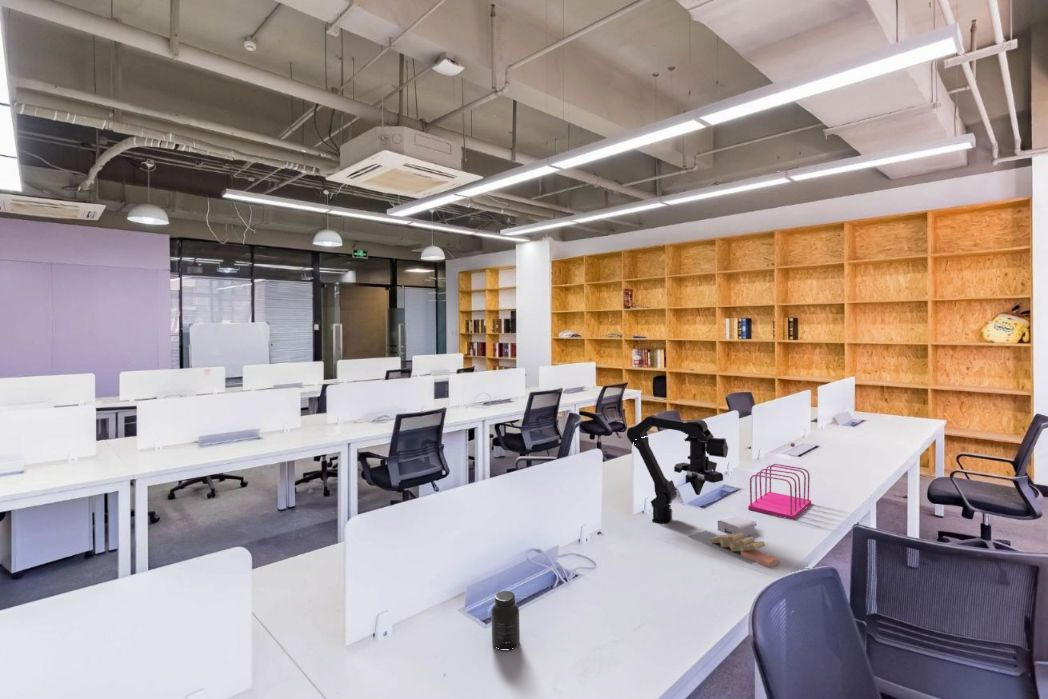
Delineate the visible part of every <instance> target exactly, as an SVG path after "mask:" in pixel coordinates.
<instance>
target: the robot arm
mask: <svg viewBox="0 0 1048 699" xmlns="http://www.w3.org/2000/svg"><path fill="white" fill-rule="evenodd" d="M654 427H655V428H661V429H667V430H673V431H678V432H682V433H683V434H685V435H687V437H686V438H684V439H683V441H684V442H689V455H688V456H687V460H689V463H687V462H680V463H676V464H675V465H674V467H673V468H674V469H673V471H674V472H675V473H678V474H679V473H680V474H681V473H682V471H683V472H686V475H685V477H686V478H687V480H688V481H689V483H690V485H691V487H692V489H693V491H694V493H695V495H696V496H699V495H701V493H702V492H701V491H702V489H703V488H704V485H705V483H706V482H708V483H714V484H715V483H718V482H723V481H724V474H723V473H722V472H720V471H716V469H717V465H718V462H715V461H712V460H710V458H709V457H710V456H712V457H719V458H725V459H726V458H727V456H728V451H729V445H728V443H727V439H726V438H723V437H722V438H717V437H714V435H713V433H712V432H711V431H710V429H709V427H708V424H707V422H706V421H705V420H703V419H686V420H684V419H683V420H682V419H676V418H671V417H665V416H664V417H663V416H657V415H655V414H651V415H649V416H646V417H645V418H644V419H643V420H642V421H640V422H639V423H637V424H636V425H633V426H631V427H629V428H628V429H627V431H626V436H627V439H628V440H629V442H630V443H631V444H632V445H633V442H634V445H633V447H635V448H636V449H637V450H638V452H639V454H640V456H641V458H642V461H643V463H644V465H645V467H646V470H647V471H648V474H649V475H650V477H651V479H652V482H653V483H654V484H653V486H654V487H653V488H654V494H655V496H656V497H655V498H653V499H652V500H651V501H650V503H651V507H652V514H653V515H652V520H651V522H652V521H653V523H659V524H665V525H666V524H669V523H670V522H672V520H673V509H672V503H673V501H674V500H676V498H677V496H678V492H677V491H678V488H677V487H676V486H675V484H674V481H673V480H670V481H669V479H667V478H666V477H665V475H664V473H663V471H662V468H661V466H660V465H659V463H658V461H657V459H656V457H655V454H654V453H653V450H652V449H651V446H650V443H649V441H650V440H649V436H648V435H649V434H648V432H649V431H650V430H651V429H652V428H654ZM644 436H648V437H645V438H641V437H644ZM635 439H637V440H635ZM635 444H636V445H635ZM707 454H708V455H709V456H708V455H707Z"/></svg>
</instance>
